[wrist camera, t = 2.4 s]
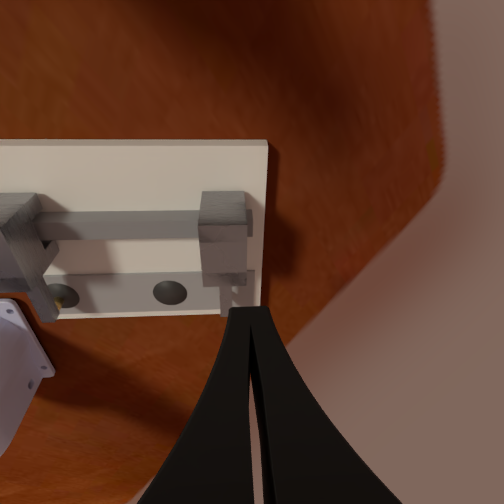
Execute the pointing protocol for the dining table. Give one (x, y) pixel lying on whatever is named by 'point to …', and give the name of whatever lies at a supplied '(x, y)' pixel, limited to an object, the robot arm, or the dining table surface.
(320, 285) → the dining table surface
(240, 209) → the grey sliding bolt
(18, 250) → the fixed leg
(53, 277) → the board
